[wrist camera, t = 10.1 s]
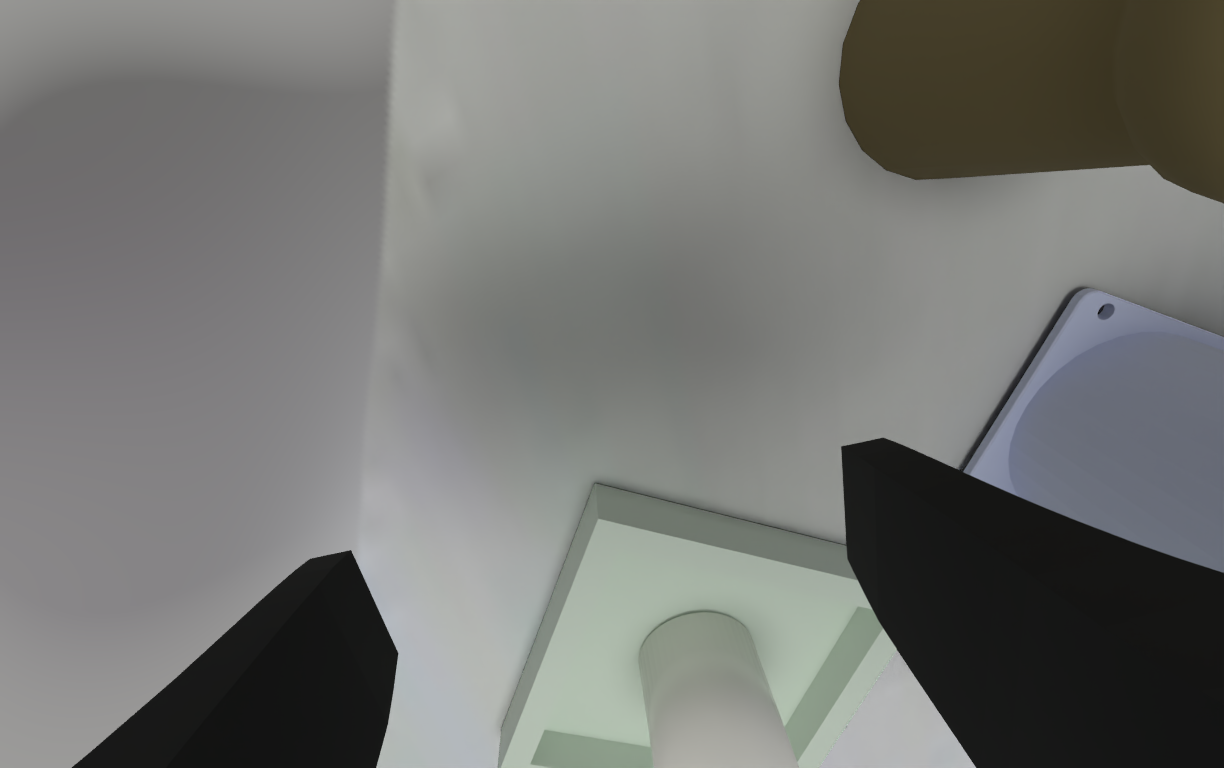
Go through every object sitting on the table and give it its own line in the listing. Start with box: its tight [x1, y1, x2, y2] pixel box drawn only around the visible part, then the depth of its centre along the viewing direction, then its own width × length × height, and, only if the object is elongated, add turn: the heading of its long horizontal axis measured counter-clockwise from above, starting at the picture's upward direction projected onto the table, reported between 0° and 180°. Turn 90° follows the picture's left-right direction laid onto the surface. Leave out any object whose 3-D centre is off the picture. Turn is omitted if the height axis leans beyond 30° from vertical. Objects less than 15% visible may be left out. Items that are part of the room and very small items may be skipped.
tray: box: [498, 483, 897, 768], centre depth 23 cm, size 12×12×2 cm
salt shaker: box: [638, 612, 799, 768], centre depth 20 cm, size 4×4×7 cm
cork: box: [839, 0, 1224, 203], centre depth 12 cm, size 6×6×11 cm
